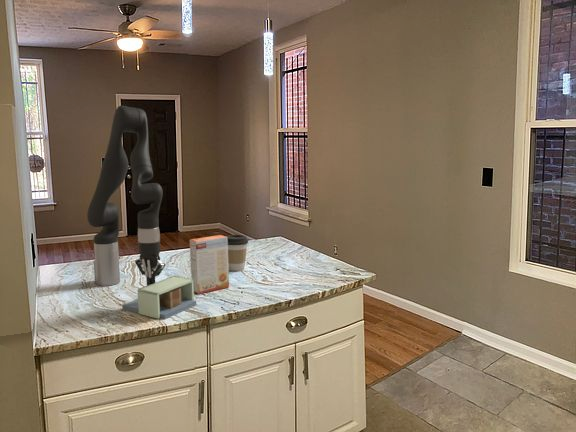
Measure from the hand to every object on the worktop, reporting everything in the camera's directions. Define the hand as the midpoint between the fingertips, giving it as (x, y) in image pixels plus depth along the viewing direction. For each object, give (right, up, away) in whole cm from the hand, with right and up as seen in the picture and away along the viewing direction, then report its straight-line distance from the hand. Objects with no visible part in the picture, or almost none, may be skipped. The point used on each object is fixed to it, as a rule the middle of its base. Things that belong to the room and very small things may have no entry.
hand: (151, 286), depth 181 cm
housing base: (+3, -7, -1) cm, 8 cm away
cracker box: (+18, -4, +19) cm, 27 cm away
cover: (+6, -7, -3) cm, 10 cm away
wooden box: (+8, -6, -4) cm, 10 cm away
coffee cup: (+26, +1, +48) cm, 54 cm away
